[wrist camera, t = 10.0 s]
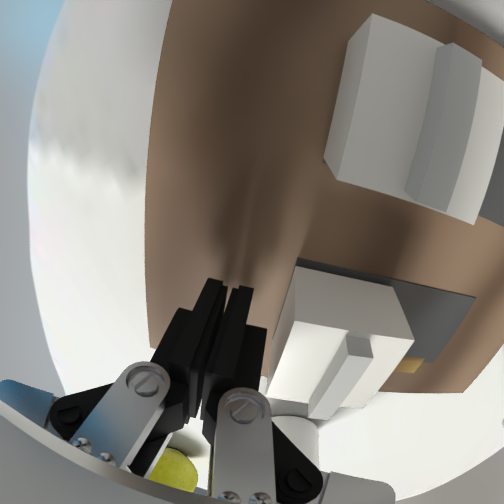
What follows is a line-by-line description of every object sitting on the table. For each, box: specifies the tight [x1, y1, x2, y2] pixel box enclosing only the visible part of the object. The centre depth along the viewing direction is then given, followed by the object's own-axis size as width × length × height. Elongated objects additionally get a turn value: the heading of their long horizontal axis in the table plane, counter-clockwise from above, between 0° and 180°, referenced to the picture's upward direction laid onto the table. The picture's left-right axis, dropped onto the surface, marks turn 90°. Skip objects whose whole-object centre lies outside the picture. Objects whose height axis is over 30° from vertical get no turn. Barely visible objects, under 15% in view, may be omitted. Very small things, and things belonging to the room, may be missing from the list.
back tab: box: [265, 266, 415, 420], centre depth 10 cm, size 4×4×4 cm
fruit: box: [148, 448, 198, 493], centre depth 22 cm, size 7×7×12 cm
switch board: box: [145, 0, 504, 393], centre depth 11 cm, size 20×18×2 cm
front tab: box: [323, 13, 504, 225], centre depth 6 cm, size 4×4×4 cm
